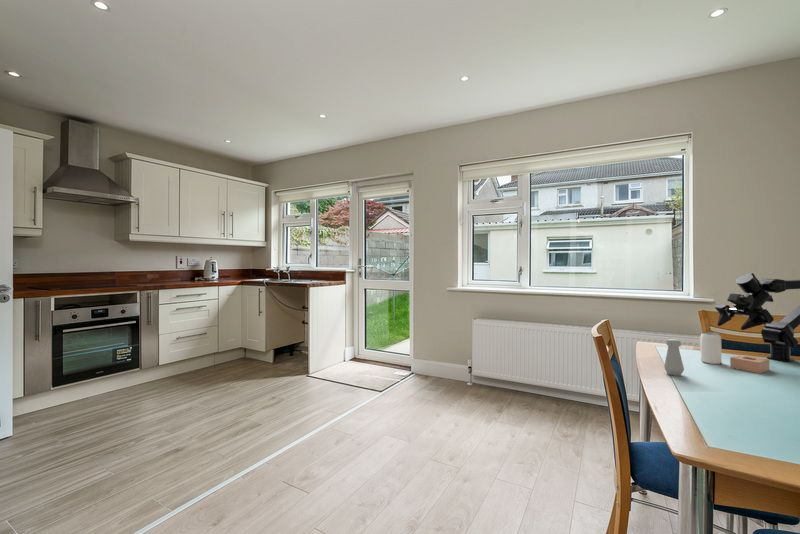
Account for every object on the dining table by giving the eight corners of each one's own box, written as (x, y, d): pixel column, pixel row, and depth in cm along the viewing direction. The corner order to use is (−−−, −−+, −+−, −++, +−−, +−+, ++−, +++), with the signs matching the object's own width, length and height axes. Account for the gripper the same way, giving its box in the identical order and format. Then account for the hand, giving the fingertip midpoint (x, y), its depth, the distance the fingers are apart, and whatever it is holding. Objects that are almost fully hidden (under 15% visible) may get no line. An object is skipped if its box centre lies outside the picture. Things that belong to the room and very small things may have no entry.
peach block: (740, 364, 142) (740, 354, 142) (769, 370, 134) (769, 359, 134) (730, 367, 138) (730, 357, 138) (759, 373, 130) (759, 362, 130)
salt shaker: (688, 376, 128) (687, 341, 128) (672, 377, 128) (671, 341, 128) (675, 371, 134) (675, 337, 134) (660, 372, 134) (660, 337, 134)
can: (705, 363, 144) (705, 334, 143) (697, 359, 150) (697, 331, 150) (725, 364, 142) (724, 335, 142) (716, 360, 148) (715, 332, 148)
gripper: (719, 286, 156) (696, 310, 154) (768, 288, 137) (742, 316, 136) (734, 304, 156) (711, 328, 155) (785, 309, 138) (759, 337, 137)
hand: (729, 327), depth 146 cm, fingers open, 9 cm apart
